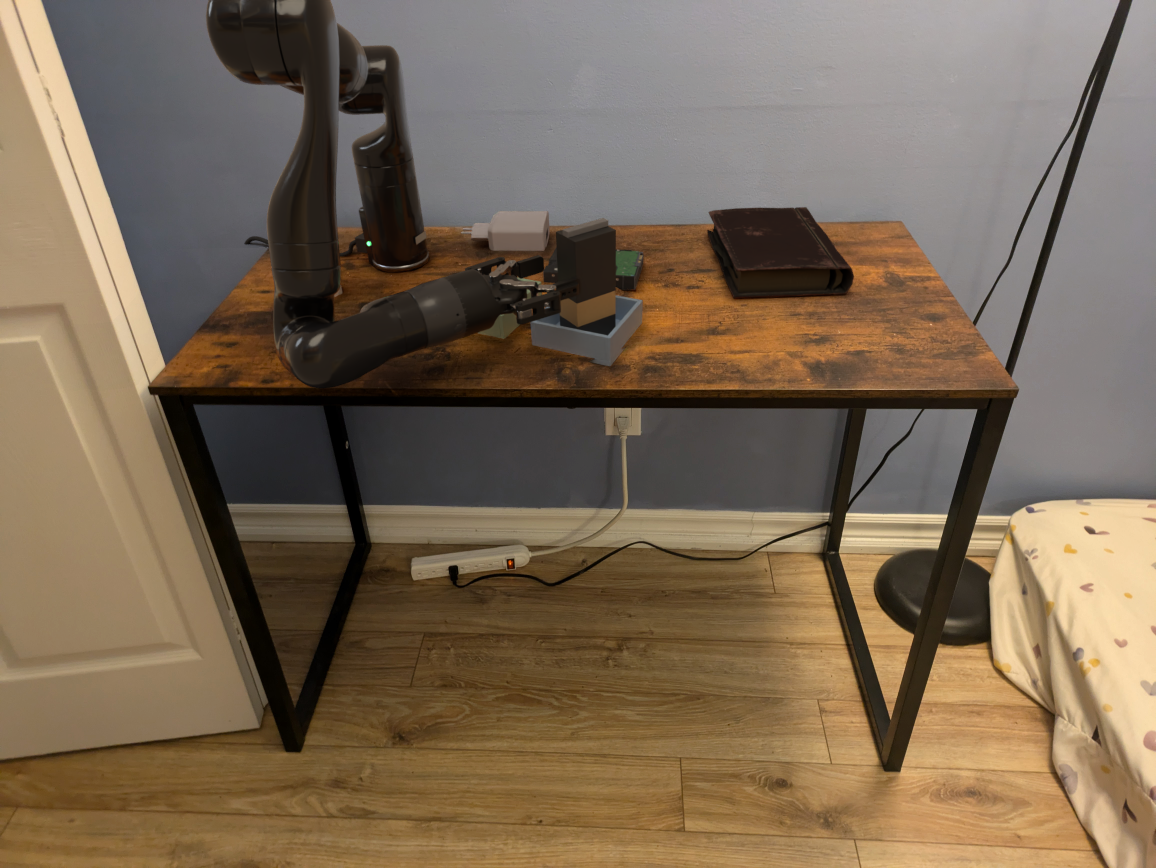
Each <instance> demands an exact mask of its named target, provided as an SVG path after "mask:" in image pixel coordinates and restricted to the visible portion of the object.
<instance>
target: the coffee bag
mask: <svg viewBox="0 0 1156 868" xmlns="http://www.w3.org/2000/svg"><path fill="white" fill-rule="evenodd" d="M556 248H557V270H558V282H560V281H563V280H566V279H569V278H572V277H577V278H578V279H580V281H581V292H580V294H579V295H576V296H573V297H570V298H568V299H565V300H562V301H561V312H560V326H564V327H568V328H573V329H578V330H583V331H588V332H593V333H598V334H603V335H607V336H608V335H609V334H610V332H611V331H612V330H613V329H614V328H615V327H616V314H615V313H616V295H617V292H616V290H617V287H616V249H617V229H615V228H613V227H611V226H610V225H609V220H608V219H607V218H604V217H601V218H597V219H594V220H591V221H587V222H584V223H580V224H576V225H573V226H569V227H566V228H563V229H560V230H557V231H555V249H556Z"/></svg>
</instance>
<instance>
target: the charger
mask: <svg viewBox="0 0 1156 868" xmlns="http://www.w3.org/2000/svg"><path fill="white" fill-rule="evenodd" d="M549 213H550V212H549V211H548V210H514V211H513V210H510V211H509V210H508V211H507V210H500V211H497V212H496V213H494V214H493V215H492V217H491V219H490V222H474V223H473V225H472V227H463V228H462V230H463V231H460V234H461V235H470V239H471V241H488V248H489V250H490V251H493V252H545V249H546V248H547V247H548V243H549V239H550V214H549Z"/></svg>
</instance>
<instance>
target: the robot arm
mask: <svg viewBox="0 0 1156 868" xmlns="http://www.w3.org/2000/svg"><path fill="white" fill-rule="evenodd" d="M205 11H206V12H205V22H206V24H205V25H206V31H207V34H208V38H209V42H210V43H211V46H212V49H213V51H214V53H215V55H216V56H217V58H218V60H219V62H220V63H221V64H222V66H223V67H224V68H225V70H226V71H227V72H228V73H229V74H231V75H232V77H234V78H235V79H237V80H238V81H240V82H242V83H245V84H249V85H257V86H280V87H282V88H285V89H287V90H289V91H291V92H293V93H297V94H299V95H301V96H303V110H302V111H303V113H302V119H301V125H300V128H299V132H298V135H297V138H296V140H295V143H294V146H293V148H292V151H291V153H290V155H289V157H288V159H287V160H286V161H287V162H286V163H285V166H284V167H283V169H282V171H281V173H280V175H279V177H278V179H277V181H276V184H275V186H274V188H273V190H272V193H271V195H270V199H269V202H268V207H267V211H266V212H267V213H266V214H267V215H266V234H267V238H264V237H263V236H256V235H252V236H249V237H248V238H247V239H246V240H245V241H244V245H250V244H251V243H252V242H260V243H263V244H266V245H268V250H269V260H270V268H271V276H272V279H273V287H274V288H273V290H274V293H273V310H272V318H273V319H272V329H273V330H272V331H273V342H274V348H275V352H276V355H277V358H278V360H279V362H280V364H281V366H282V367H283V368H284V369H285V370H286V371H287V372H289V373H290V374H291V375H292V376H294V377H295V379H297V381H299V382H300V383H302V384H304V385H305V386H307V387H309V388H314V389H324V390H325V389H331V388H336V387H340V386H342V385H346V384H348V383H351V382H353V381H355V380H357V379H360V378H361V377H363V376H365V375H367V374H369V373H371V372H372V371H374V370H375V369H378V368H380V367H381V366H383V365H384V364H385V363H387V362H388V361H390V360H393V359H397V358H401V357H403V356H407V355H411V354H412V353H415V352H418V351H420V350H424V349H428V348H433V347H438V346H442V345H446V344H449V343H451V342H455V341H458V340H460V339H464V338H467V337H469V336H472V335H475V334H479V333H478V332H481V331H484V330H487V329H490V328H491V327H492V326H493V325H494V323H495V321H496V319H497V318H498V316H499V315H503V314H511V313H513V314H514V315H516V320H517V324H520V325H525V324H528V323H529V324H530V322H532V321H535V320H539V319H542V318H545V317H548V316H552V315H555V314H558V313H560V312H561V301H562V300H565V299H568V298H570V297H573V296H576V295H579V294H580V292H581V281H580V279H578V278H577V277H572V278H569V279H566V280H563V281H560V282H557V283H552V284H542V285H538V284H537V282H535V281H536V280H534V281H521V280H518V279H517V277H518V278H520V279H522V278H523V279H526V278H528V277H531V276H534V275H538V274H541V273H543V271H544V269H545V259H544V257H543V256H541V255H539V254H537V255H534V256H531V257H527V258H524V259H521V260H517V261H516V260H515V259H509V260H507V261H506V257H505V256H498V257H497V256H496V257H494V258H491V259H489V260H485V261H482V262H479V263H476V264H473V265H470V266H467V267H465V268H464V270H463V271H460V272H459V271H458V272H457V273H453V274H449V275H447V276H442V277H440V278H436V279H432V280H429V281H425V282H422V283H420V284H417V285H415V286H414V287H411V288H409V289H406V290H403V291H400V292H396V293H393V294H390V295H387V296H383V297H380V298H378V299H374V300H371V301H370V302H367V303H365V304H364V305H363V306H362V307H361V309H360V311H359V312H358V313H355V314H353V315H350V316H347V317H344V318H342V319H338V320H336V314H335V313H336V312H335V311H336V310H335V297H334V295H335V294H336V293H337V292H338V291H339V289H340V287H341V288H342V266H341V264H342V263H341V257H342V258H344V257H348V256H350V255H352V254H353V252H354V247H355V246H356V251H357V252H358V253H362V254H367V260H368V264H369V265H373V266H374V267H375V268H376V269H378V270H379V271H383V272H387V273H401V272H407V271H412V270H416V269H418V268H421V267H423V266H425V265H426V264H427V263H428V262H429V260H430V254H429V250H428V245H427V231H426V230H425V225H424V224H425V223H424V217H423V211H422V203H421V197H420V192H419V191H420V190H419V185H418V178H417V171H416V165H415V159H414V153H413V148H412V147H413V146H412V142H411V141H412V140H411V139H412V138H411V131H410V126H409V119H408V111H407V102H406V99H407V98H406V91H405V90H406V88H405V80H404V71H403V67H402V62H401V59H400V56H399V53H398V52H397V50H396V49H395V48H394V47H393V46H392V45H388V44H387V45H385V44H381V45H379V44H378V45H377V44H376V45H362V44H361V42H360V41H359V40H358V39H357V37H355V35H354V34H353V33H352V32H350V31H349V30H348V29H347V28H345V27H344V26H342V25H341V24H340V23H338V22H337V18H336V17H337V16H336V13H335V9H334V6H333V2H332V0H208V1H207V4H206V10H205ZM340 112H341V113H343V114H346V115H351V116H361V115H363V116H364V115H384V118H385V121H384V122H383V123H382V124H381V125H380V126H379V127H377V128H376V129H374V130H373V131H370V132H368V133H366V134H363V135H361V136H358V137H357V138H356V139H355V140H354V141H352V144H351V155H352V160H353V165H354V169H355V175H356V180H357V184H358V189H359V195H360V200H361V204H362V206H361V207H359V209H358V215H359V220H360V224H361V229H362V233H360V234H358V235H357V236H355V237H354V239H353V240H352V241H350V242H349V243H348V249H347V250H346V251H343V252H340V241H339V229H338V217H337V215H338V214H337V172H338V171H337V170H338V169H337V168H338V153H339V152H338V148H339V121H340V119H339V117H340ZM493 267H496V269H494V271H492V268H493ZM527 289H528V290H530V292H531V298H529V299H527ZM538 293H542V295H540V296H538ZM543 293H544V294H543ZM546 307H549V308H546ZM545 308H546V309H545Z"/></svg>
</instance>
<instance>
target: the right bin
mask: <svg viewBox="0 0 1156 868" xmlns="http://www.w3.org/2000/svg"><path fill="white" fill-rule="evenodd" d="M643 302H644V301H643V299H639V298H633V297H627V296H623V295H617V294H616V313H615V314H616V327H615V328H614V329H613V330H612V331H611V332H610V334H609V335H608V336H607V335H603V334H598V333H593V332H588V331H583V330H578V329H573V328H568V327H564V326H560V313H558V314H555V315H552V316H548V317H545V318H542V319H539V320H535V321H532V322H529V324H530V335H531V336H530V337H531V345H532V346H536V347H540V348H544V349H549V350H554V351H558V352H561V353H562V352H563V353H568V354H571V355H577V356H581V357H586V358H591V360H588V363H592V364H597V365H601V366H606V367H611V366H612V365H613V364H614V363H615V362H616V360H617V359H618V358H619V357H620V356H621V354H622V353H623V351H624V350H625V349H626V348H627V346H625V345H626V343H627V342H628V341H629V339H631V337H632V336H633V335H634V334H635V332H636V331H637V330H638V329H639V328H640V326H641V325H642V324H643V309H644V303H643ZM546 308H549V307H544V309H546Z"/></svg>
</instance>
